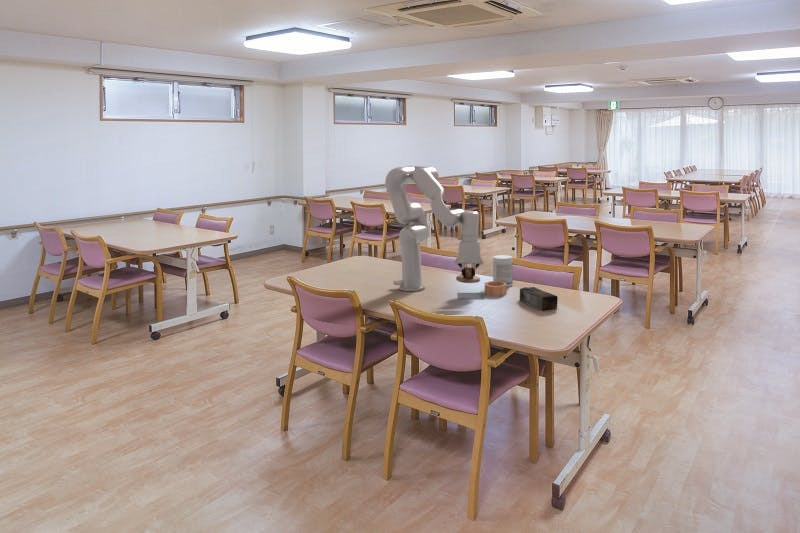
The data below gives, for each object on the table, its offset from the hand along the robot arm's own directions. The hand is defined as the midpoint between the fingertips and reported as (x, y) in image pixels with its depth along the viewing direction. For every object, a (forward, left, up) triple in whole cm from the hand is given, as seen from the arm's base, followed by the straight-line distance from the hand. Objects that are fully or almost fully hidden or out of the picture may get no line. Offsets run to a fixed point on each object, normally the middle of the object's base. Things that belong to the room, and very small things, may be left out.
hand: (468, 276), depth 280 cm
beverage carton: (+30, -14, -10) cm, 34 cm away
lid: (0, 0, -2) cm, 2 cm away
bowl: (+13, +4, -10) cm, 17 cm away
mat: (+1, -1, -10) cm, 10 cm away
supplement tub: (+18, +20, -10) cm, 29 cm away
